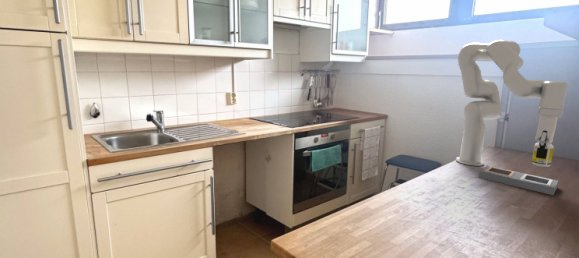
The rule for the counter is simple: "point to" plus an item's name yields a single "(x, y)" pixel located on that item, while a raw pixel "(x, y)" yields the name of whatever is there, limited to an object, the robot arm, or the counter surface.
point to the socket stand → (519, 179)
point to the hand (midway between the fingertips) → (542, 156)
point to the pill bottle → (548, 159)
